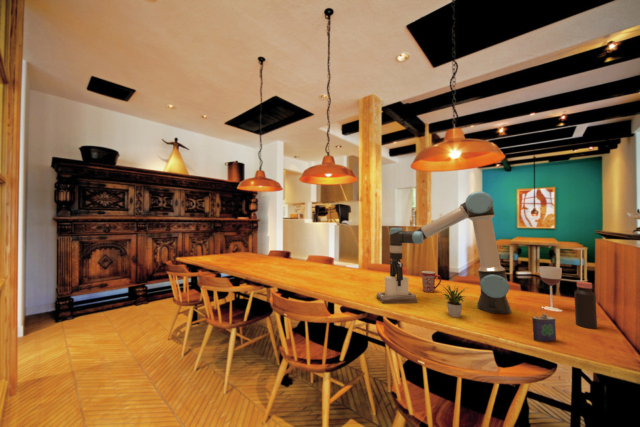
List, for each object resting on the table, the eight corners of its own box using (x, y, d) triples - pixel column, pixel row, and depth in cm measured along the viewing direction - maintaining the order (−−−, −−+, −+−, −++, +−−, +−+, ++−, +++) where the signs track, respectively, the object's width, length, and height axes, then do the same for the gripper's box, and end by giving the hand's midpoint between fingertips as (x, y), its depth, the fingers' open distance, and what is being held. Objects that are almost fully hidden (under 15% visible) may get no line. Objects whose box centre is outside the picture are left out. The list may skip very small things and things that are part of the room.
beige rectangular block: (387, 298, 149) (387, 278, 150) (384, 296, 154) (384, 276, 155) (408, 297, 151) (408, 278, 151) (404, 295, 156) (404, 276, 156)
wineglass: (567, 310, 136) (565, 268, 137) (556, 312, 132) (555, 269, 134) (547, 305, 145) (545, 265, 146) (536, 307, 141) (535, 266, 142)
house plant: (432, 314, 128) (431, 283, 128) (441, 308, 137) (441, 279, 138) (463, 322, 118) (462, 288, 118) (470, 315, 127) (470, 283, 128)
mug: (421, 292, 171) (421, 272, 172) (421, 289, 180) (421, 270, 180) (441, 294, 166) (441, 274, 167) (441, 291, 174) (440, 272, 175)
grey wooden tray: (417, 302, 148) (417, 296, 148) (383, 303, 145) (383, 297, 145) (408, 297, 160) (408, 291, 160) (376, 297, 157) (376, 291, 157)
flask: (551, 338, 102) (550, 312, 102) (559, 341, 99) (558, 314, 99) (531, 339, 101) (530, 312, 101) (538, 342, 98) (537, 315, 99)
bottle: (599, 327, 113) (597, 283, 114) (594, 330, 110) (592, 284, 111) (578, 322, 119) (576, 280, 120) (573, 324, 116) (571, 281, 117)
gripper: (408, 254, 145) (409, 294, 144) (395, 250, 164) (395, 285, 163) (396, 254, 144) (397, 294, 143) (384, 250, 163) (384, 286, 162)
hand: (396, 289), depth 153 cm, fingers open, 6 cm apart
